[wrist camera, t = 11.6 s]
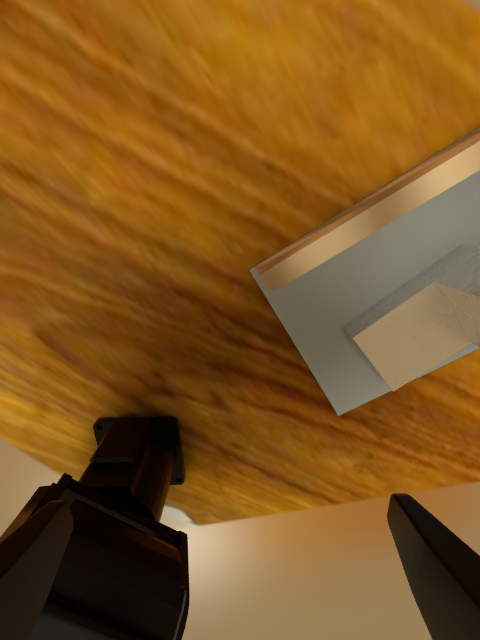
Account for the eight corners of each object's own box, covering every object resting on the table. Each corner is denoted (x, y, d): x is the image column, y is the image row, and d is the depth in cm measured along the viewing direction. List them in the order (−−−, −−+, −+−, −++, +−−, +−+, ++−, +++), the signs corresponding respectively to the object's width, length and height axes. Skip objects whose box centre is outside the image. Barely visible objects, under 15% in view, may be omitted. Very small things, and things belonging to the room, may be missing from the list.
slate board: (336, 411, 23) (338, 416, 22) (249, 269, 19) (249, 270, 18) (551, 307, 20) (559, 309, 19) (497, 115, 16) (505, 112, 16)
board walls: (324, 380, 22) (340, 409, 18) (255, 264, 19) (258, 275, 15) (532, 274, 19) (594, 285, 16) (488, 121, 16) (552, 96, 13)
